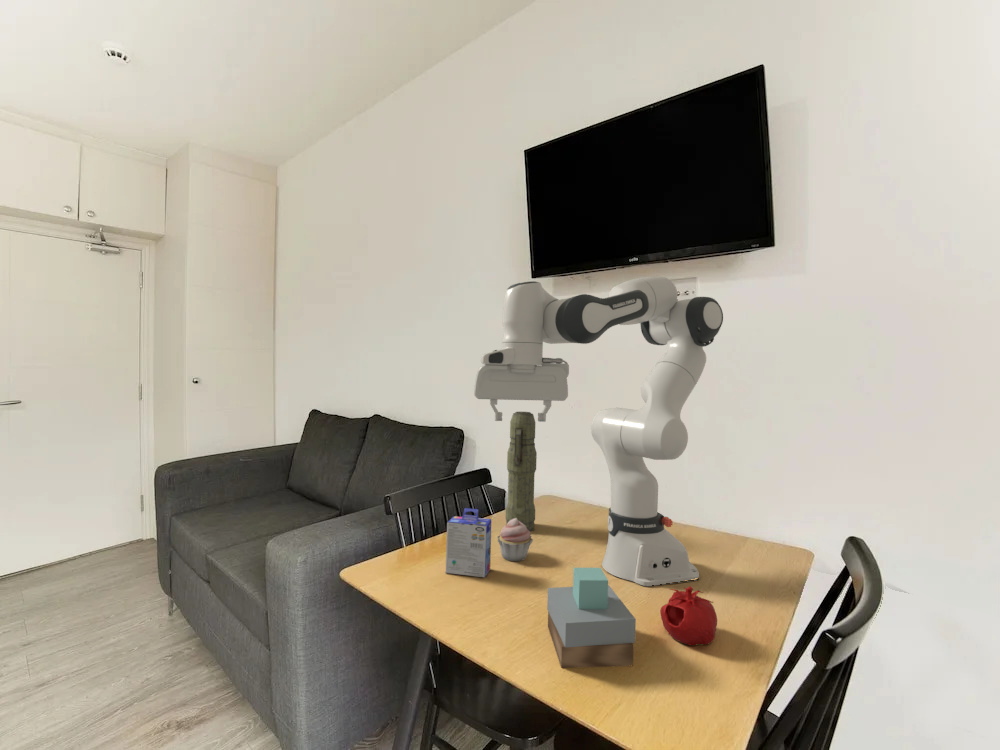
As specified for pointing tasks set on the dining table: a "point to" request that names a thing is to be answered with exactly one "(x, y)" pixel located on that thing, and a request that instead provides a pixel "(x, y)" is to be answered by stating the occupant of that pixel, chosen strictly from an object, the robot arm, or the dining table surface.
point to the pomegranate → (689, 618)
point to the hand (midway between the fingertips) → (520, 421)
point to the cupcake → (514, 541)
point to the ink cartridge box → (468, 545)
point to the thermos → (521, 469)
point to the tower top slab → (590, 620)
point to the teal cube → (590, 588)
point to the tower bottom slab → (590, 652)
